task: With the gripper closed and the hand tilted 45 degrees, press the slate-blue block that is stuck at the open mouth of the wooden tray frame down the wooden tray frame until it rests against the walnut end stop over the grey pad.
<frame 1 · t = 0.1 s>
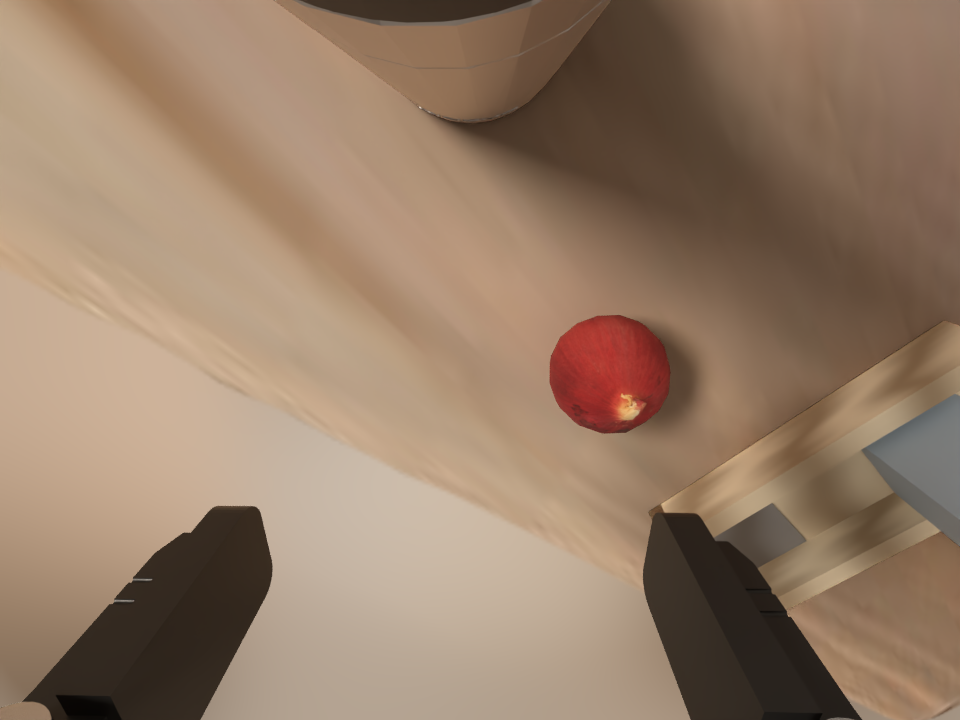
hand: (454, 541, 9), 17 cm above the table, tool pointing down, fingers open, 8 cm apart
wooden tray frame: (821, 475, 29), on the table
pomegranate: (591, 344, 26), on the table
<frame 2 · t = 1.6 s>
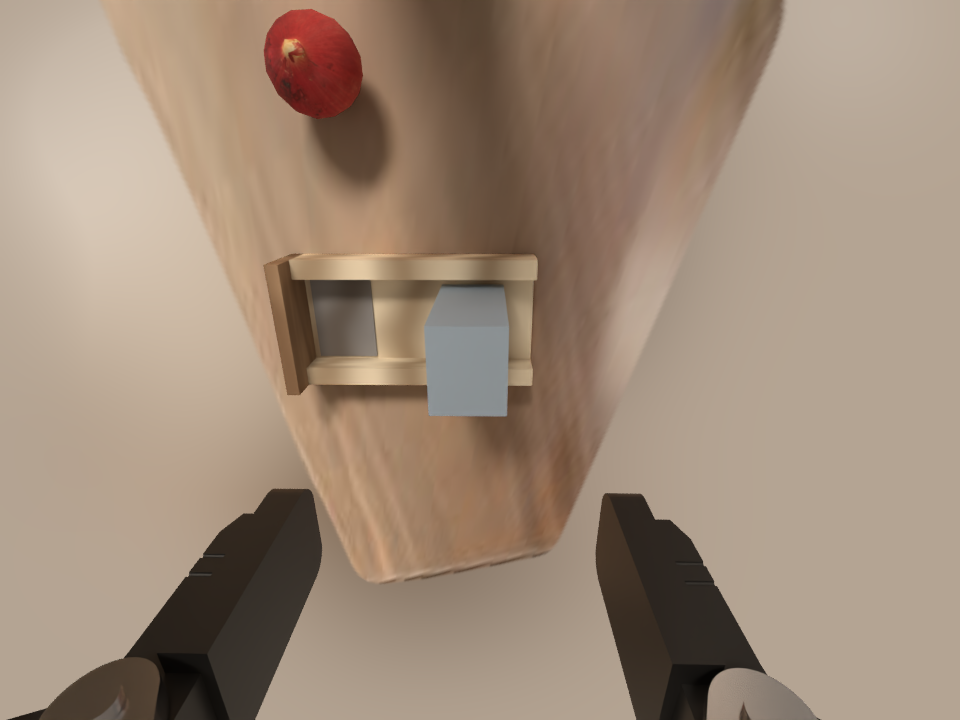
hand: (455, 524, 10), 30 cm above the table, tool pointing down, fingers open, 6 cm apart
wooden tray frame: (415, 315, 39), on the table
block: (470, 342, 33), point 7 cm above the table, slide at 0.0 cm
pomegranate: (334, 79, 32), on the table
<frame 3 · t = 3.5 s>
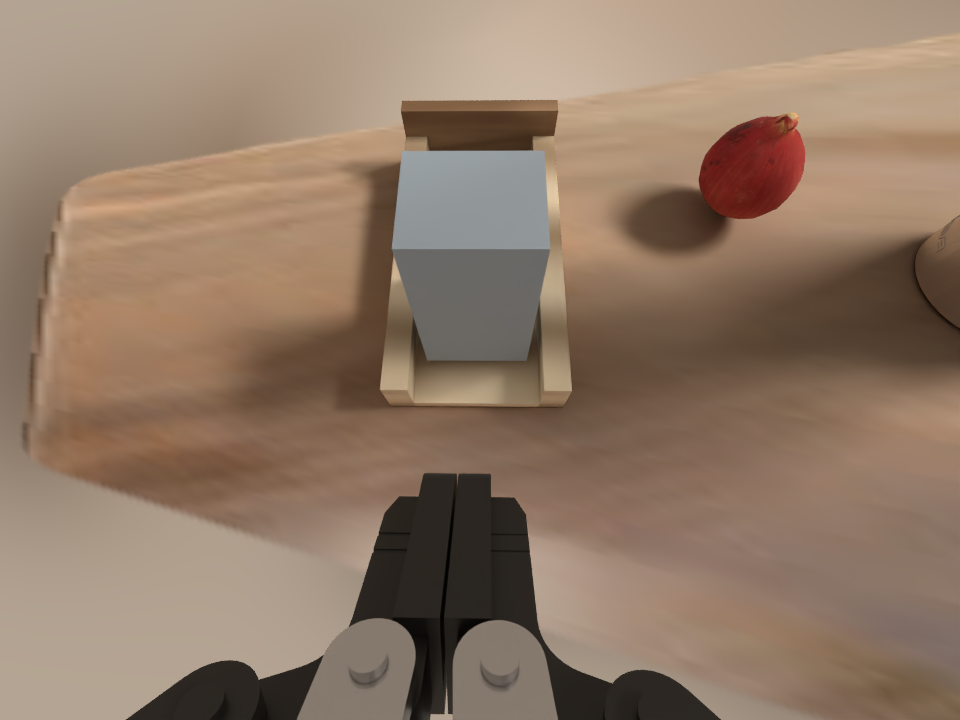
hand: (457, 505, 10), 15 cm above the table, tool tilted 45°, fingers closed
wooden tray frame: (478, 267, 31), on the table
block: (475, 274, 23), point 7 cm above the table, slide at 0.0 cm
pomegranate: (720, 212, 33), on the table
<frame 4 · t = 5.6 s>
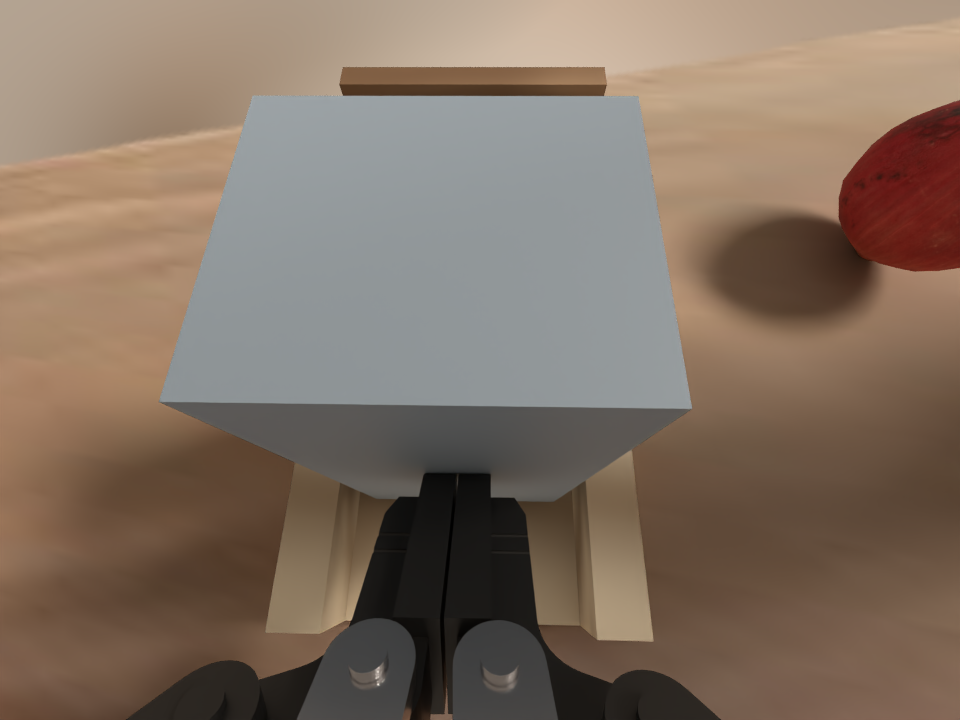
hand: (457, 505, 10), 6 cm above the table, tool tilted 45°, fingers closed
wooden tray frame: (470, 345, 19), on the table
block: (458, 373, 11), point 7 cm above the table, slide at 1.2 cm, touching gripper
pomegranate: (858, 253, 21), on the table
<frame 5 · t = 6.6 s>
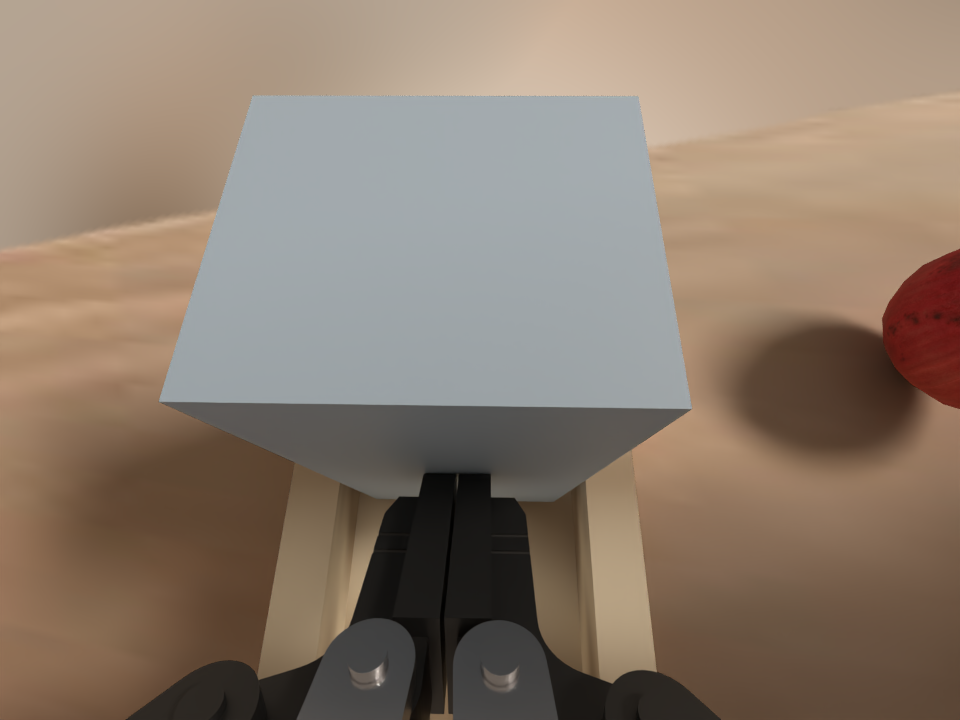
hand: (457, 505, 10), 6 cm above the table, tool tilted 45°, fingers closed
wooden tray frame: (466, 488, 16), on the table
block: (458, 373, 11), point 7 cm above the table, slide at 7.0 cm, touching gripper
pomegranate: (902, 371, 18), on the table
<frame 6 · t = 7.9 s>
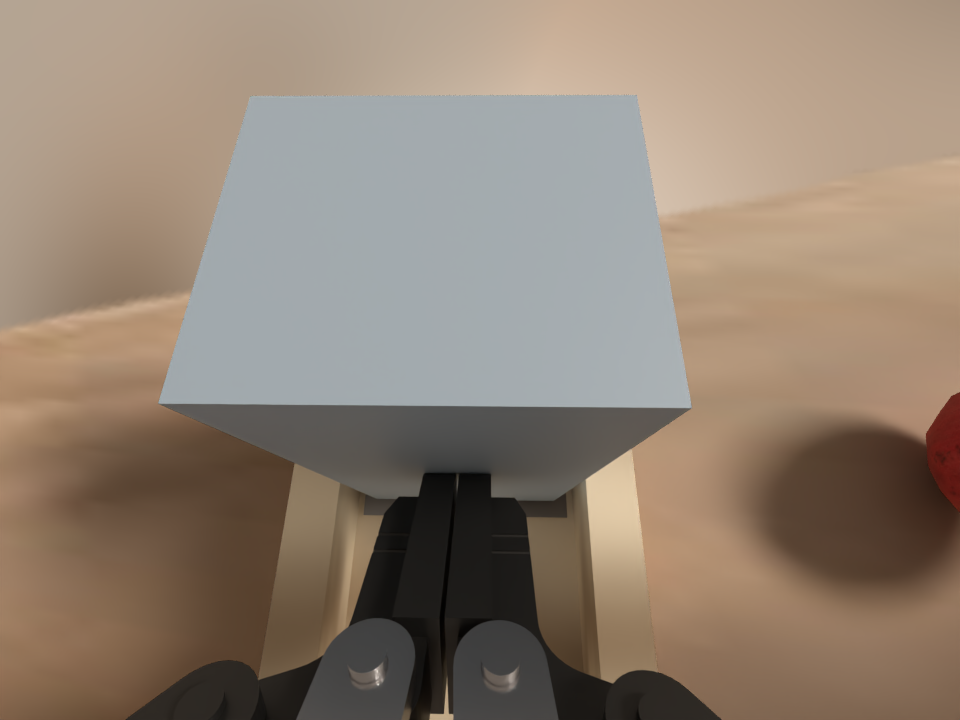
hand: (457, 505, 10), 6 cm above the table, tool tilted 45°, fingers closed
wooden tray frame: (463, 629, 15), on the table
block: (457, 372, 11), point 7 cm above the table, slide at 11.5 cm, touching gripper
pomegranate: (944, 482, 17), on the table
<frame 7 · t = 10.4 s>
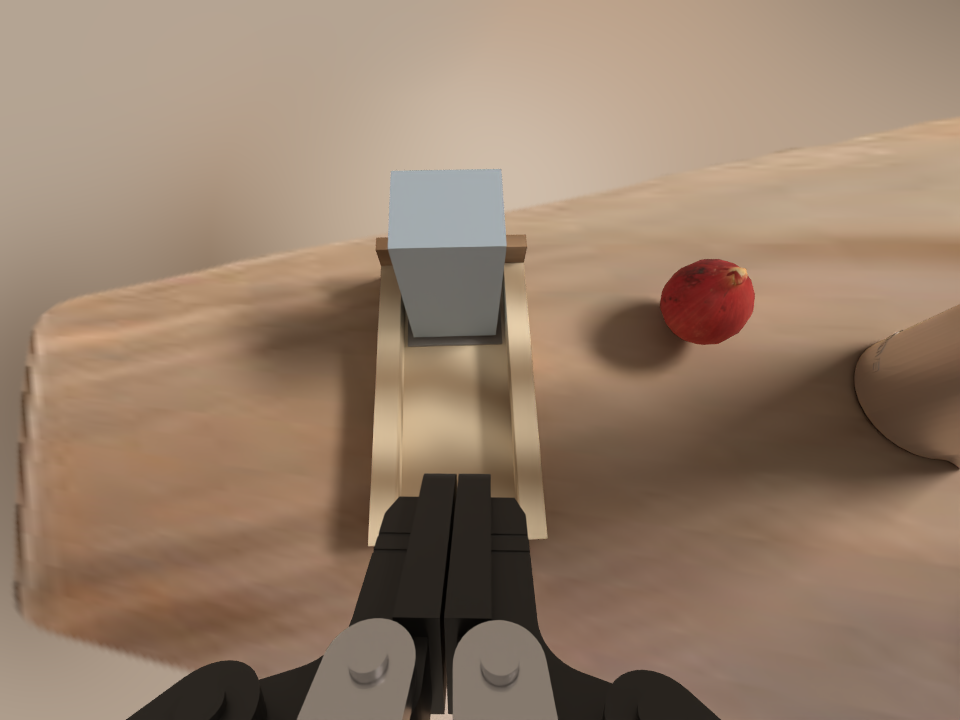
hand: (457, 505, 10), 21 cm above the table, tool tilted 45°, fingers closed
wooden tray frame: (456, 393, 33), on the table
block: (451, 265, 29), point 7 cm above the table, slide at 11.5 cm, touching wooden tray frame
pomegranate: (681, 326, 35), on the table
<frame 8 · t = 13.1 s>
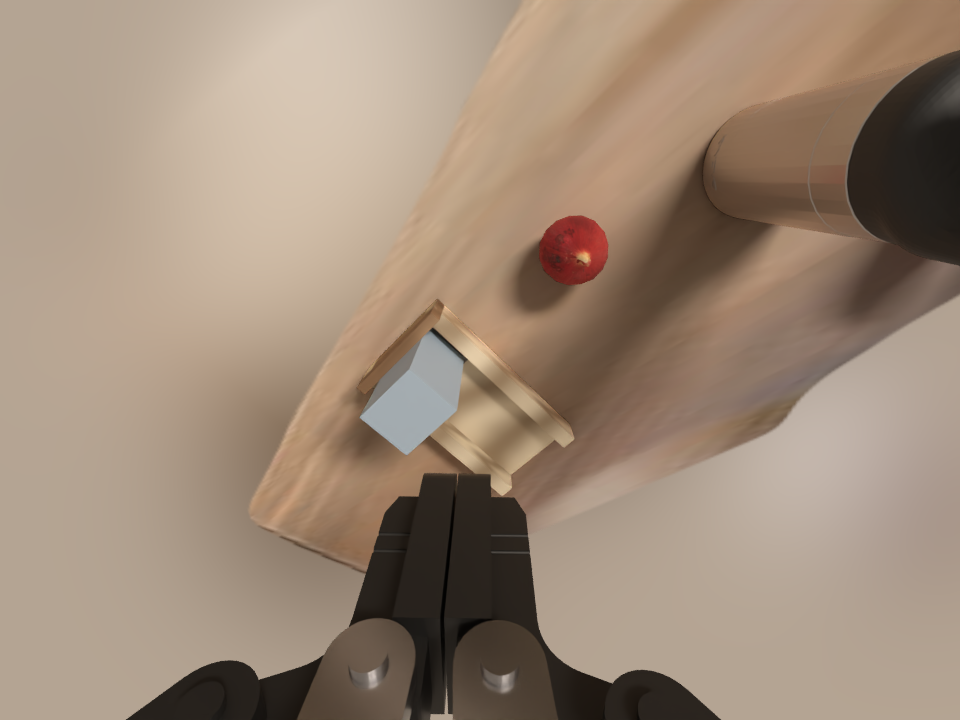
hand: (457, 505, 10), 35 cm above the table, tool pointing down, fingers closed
wooden tray frame: (471, 396, 48), on the table
block: (418, 384, 40), point 7 cm above the table, slide at 11.5 cm, touching wooden tray frame
pomegranate: (565, 244, 42), on the table
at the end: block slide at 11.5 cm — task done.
